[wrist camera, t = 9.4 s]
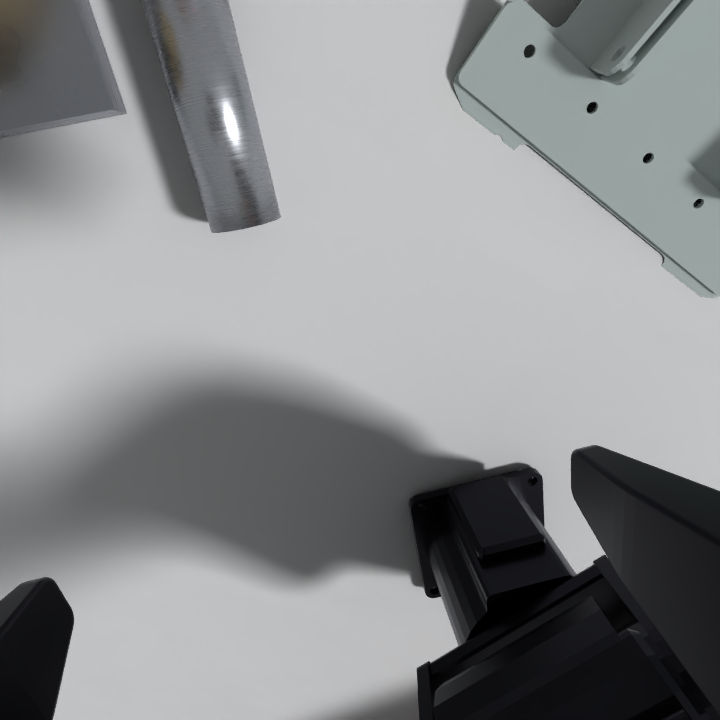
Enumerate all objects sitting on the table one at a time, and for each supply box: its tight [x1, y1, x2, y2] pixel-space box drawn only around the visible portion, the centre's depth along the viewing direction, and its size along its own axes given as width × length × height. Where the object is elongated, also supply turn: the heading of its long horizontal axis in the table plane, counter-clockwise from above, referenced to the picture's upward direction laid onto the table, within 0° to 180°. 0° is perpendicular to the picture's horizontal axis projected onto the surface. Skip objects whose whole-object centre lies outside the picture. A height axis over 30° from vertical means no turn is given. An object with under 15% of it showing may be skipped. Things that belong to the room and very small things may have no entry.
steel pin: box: [141, 0, 281, 233], centre depth 15 cm, size 8×2×2 cm
